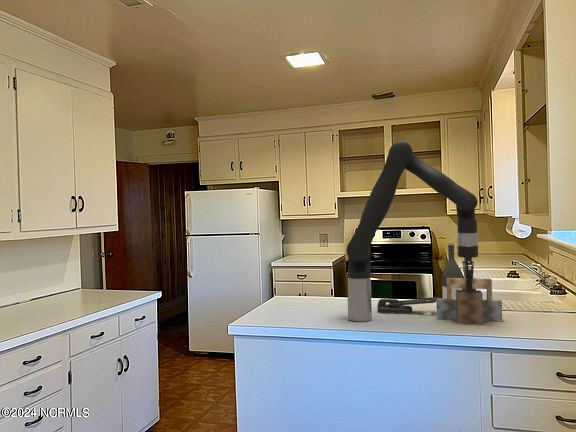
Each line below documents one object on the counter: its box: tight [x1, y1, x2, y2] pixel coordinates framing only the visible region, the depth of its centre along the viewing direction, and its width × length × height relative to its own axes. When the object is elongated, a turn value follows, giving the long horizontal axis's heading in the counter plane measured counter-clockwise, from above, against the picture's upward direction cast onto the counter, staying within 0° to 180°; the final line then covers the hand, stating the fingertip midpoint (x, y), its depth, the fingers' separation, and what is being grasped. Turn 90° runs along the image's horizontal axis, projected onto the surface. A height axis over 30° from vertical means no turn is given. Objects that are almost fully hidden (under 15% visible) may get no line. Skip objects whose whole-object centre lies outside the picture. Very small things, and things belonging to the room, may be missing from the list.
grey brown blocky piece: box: [435, 289, 503, 326], centre depth 174 cm, size 24×8×12 cm, turn 73°
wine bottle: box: [441, 240, 463, 299], centre depth 192 cm, size 8×8×30 cm
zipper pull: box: [376, 296, 437, 315], centre depth 192 cm, size 9×7×25 cm
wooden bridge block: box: [447, 277, 493, 302], centre depth 172 cm, size 16×4×8 cm, turn 73°
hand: (468, 288), depth 172 cm, fingers closed on wooden bridge block, 3 cm apart
